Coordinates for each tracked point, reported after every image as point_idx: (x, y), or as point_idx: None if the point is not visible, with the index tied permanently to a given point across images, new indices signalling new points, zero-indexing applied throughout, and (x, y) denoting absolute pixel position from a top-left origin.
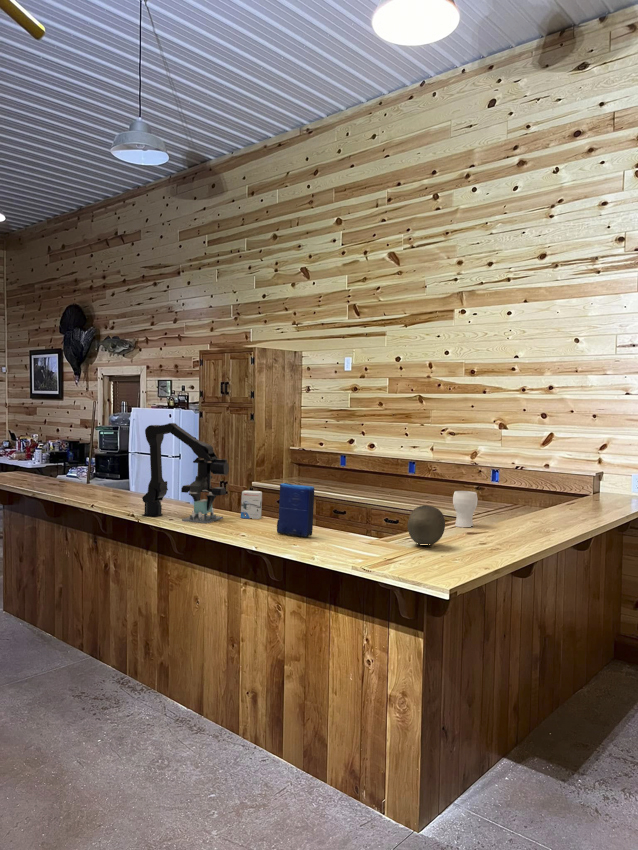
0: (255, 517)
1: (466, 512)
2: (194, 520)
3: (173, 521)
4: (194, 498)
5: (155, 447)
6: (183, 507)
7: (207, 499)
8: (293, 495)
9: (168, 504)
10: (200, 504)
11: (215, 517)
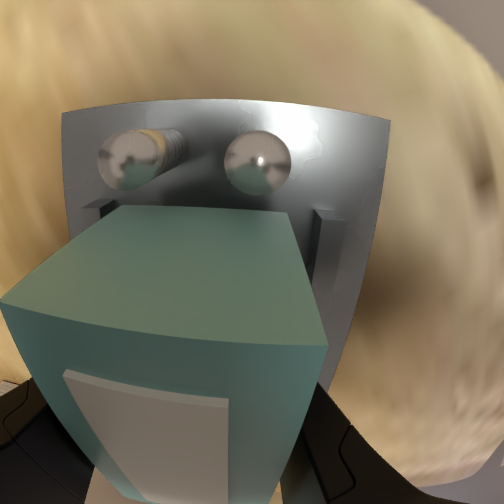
0: (7, 386)
1: None
2: (218, 99)
3: (439, 78)
4: (370, 487)
5: None
6: (426, 465)
7: (14, 436)
8: None
9: (467, 459)
10: (98, 281)
11: None
